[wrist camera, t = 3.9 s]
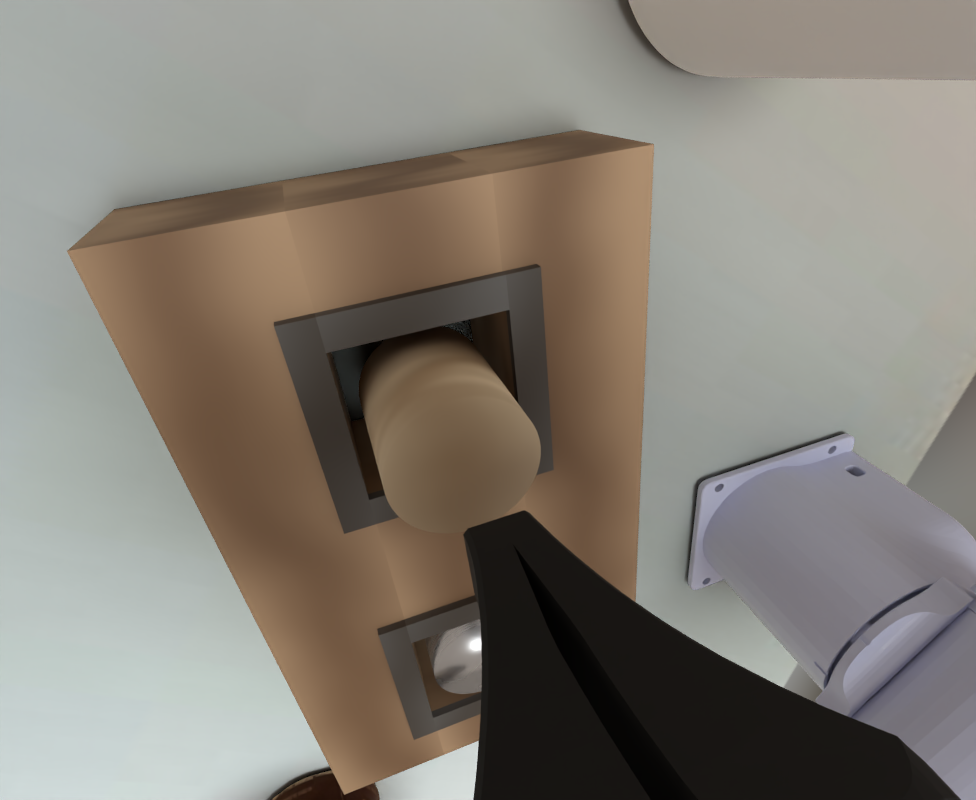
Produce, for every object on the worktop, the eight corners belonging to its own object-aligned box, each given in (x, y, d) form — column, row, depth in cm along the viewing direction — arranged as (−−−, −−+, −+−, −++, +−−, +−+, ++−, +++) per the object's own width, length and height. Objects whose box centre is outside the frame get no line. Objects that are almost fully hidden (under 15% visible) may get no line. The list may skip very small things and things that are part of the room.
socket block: (579, 129, 19) (660, 145, 15) (590, 608, 31) (635, 684, 27) (114, 209, 16) (63, 254, 12) (335, 702, 28) (344, 801, 24)
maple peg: (477, 311, 17) (535, 378, 13) (492, 421, 19) (545, 506, 15) (344, 343, 16) (366, 423, 12) (374, 454, 18) (400, 552, 15)
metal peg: (489, 533, 26) (526, 610, 22) (498, 592, 28) (533, 671, 24) (403, 561, 25) (426, 646, 21) (419, 619, 27) (442, 706, 23)
